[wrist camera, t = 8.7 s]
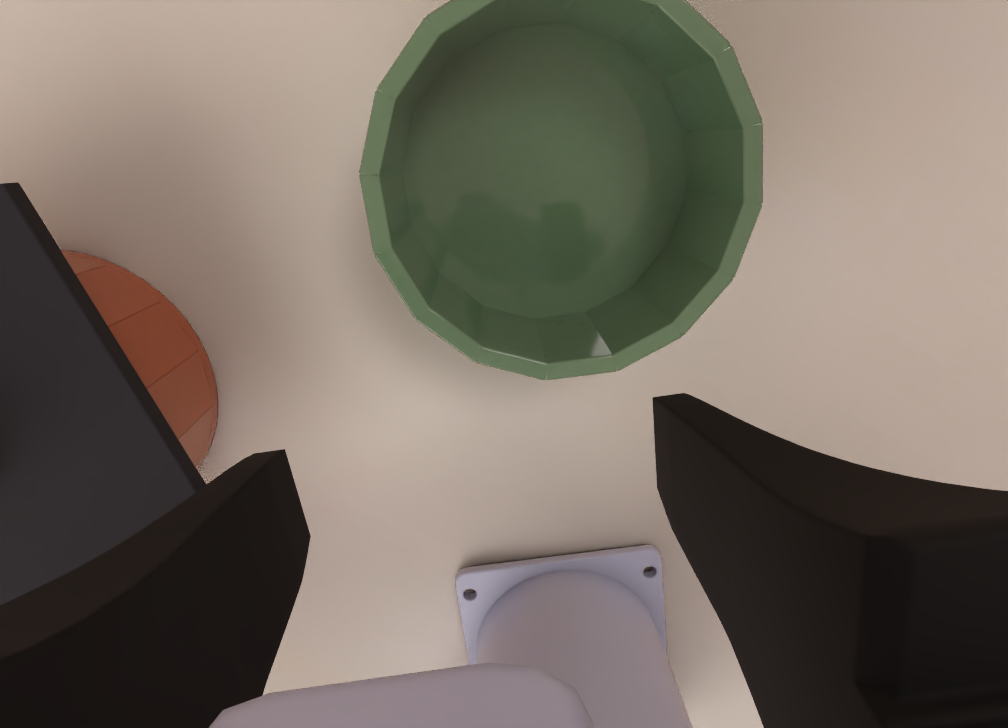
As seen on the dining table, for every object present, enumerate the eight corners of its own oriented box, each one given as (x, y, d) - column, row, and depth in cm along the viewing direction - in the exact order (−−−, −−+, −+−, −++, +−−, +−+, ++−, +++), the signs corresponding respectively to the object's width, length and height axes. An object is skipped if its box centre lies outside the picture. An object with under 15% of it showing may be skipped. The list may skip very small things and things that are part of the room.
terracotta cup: (248, 495, 24) (192, 579, 20) (-12, 528, 24) (-131, 619, 20) (174, 229, 21) (86, 253, 17) (-123, 268, 21) (-296, 302, 17)
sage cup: (699, 307, 23) (763, 353, 18) (418, 342, 23) (400, 399, 18) (690, -11, 20) (764, -67, 14) (365, 31, 20) (324, -10, 15)
